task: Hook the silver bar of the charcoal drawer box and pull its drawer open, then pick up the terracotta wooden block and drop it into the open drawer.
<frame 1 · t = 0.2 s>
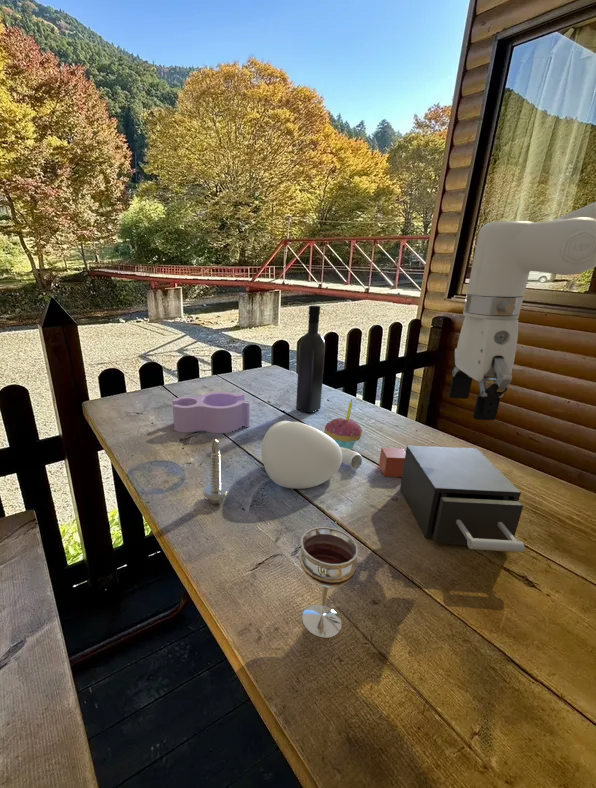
hand: (470, 407, 70), 19 cm above the table, tool pointing down, fingers open, 9 cm apart
screw: (216, 501, 78), on the table
wine bottle: (308, 410, 120), on the table
block: (392, 471, 87), on the table
cupcake: (341, 448, 97), on the table
cabinet: (447, 513, 74), on the table
drawer: (467, 509, 67), point 5 cm above the table, slide at 1.0 cm
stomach: (297, 467, 89), on the table
wineglass: (321, 621, 53), on the table
clip: (211, 424, 111), on the table
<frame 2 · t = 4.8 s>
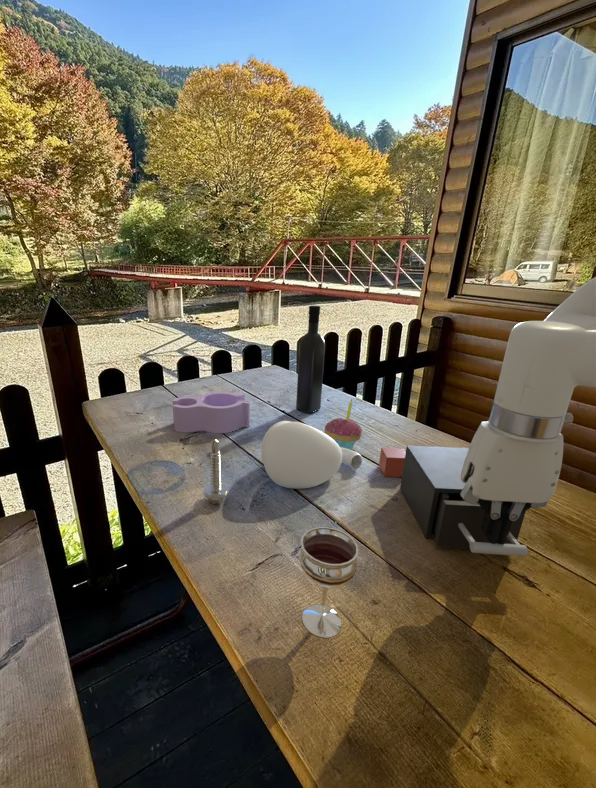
hand: (492, 537, 59), 6 cm above the table, tool pointing down, fingers closed
drawer: (469, 512, 66), point 5 cm above the table, slide at 1.8 cm, touching gripper
everything else where it was.
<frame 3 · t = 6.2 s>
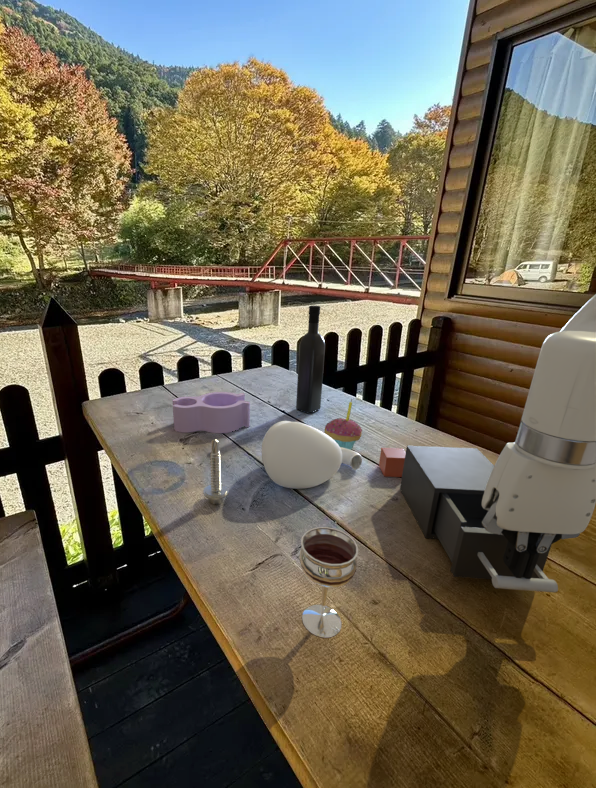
hand: (516, 570, 53), 6 cm above the table, tool pointing down, fingers closed
drawer: (488, 539, 60), point 5 cm above the table, slide at 8.1 cm, touching gripper
everything else where it was.
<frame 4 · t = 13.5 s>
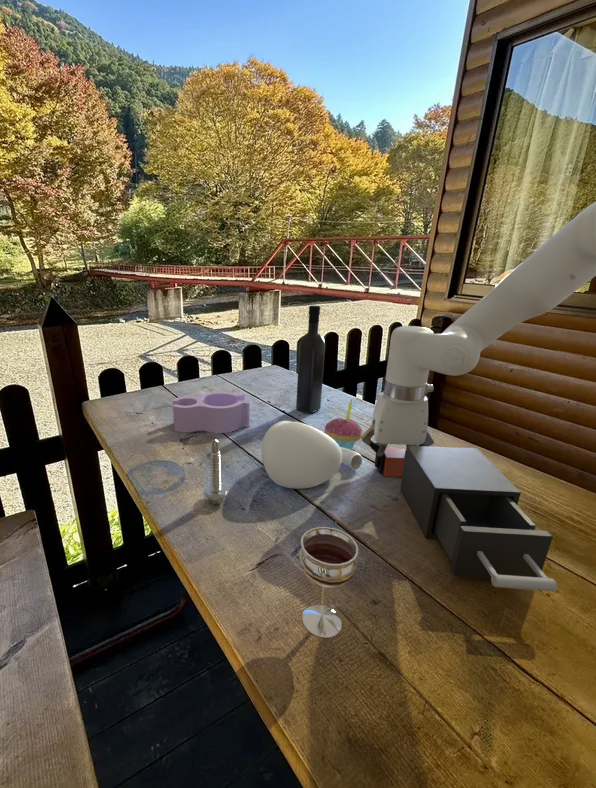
hand: (392, 470, 87), 0 cm above the table, tool pointing down, fingers closed on block, 4 cm apart
block: (392, 471, 87), on the table, touching gripper
drawer: (487, 538, 60), point 5 cm above the table, slide at 8.0 cm
everything else where it was.
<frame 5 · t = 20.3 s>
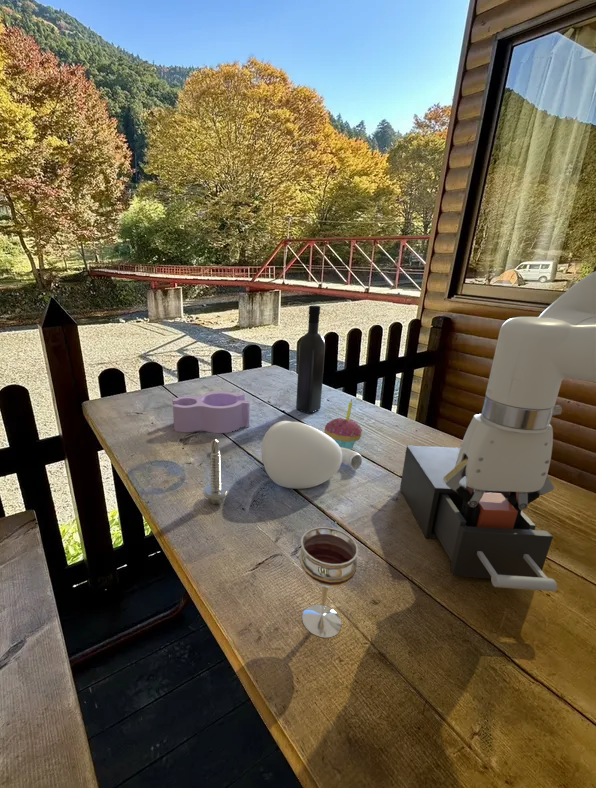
hand: (486, 524, 61), 6 cm above the table, tool pointing down, fingers closed on block, 4 cm apart
block: (486, 526, 61), point 6 cm above the table, touching gripper
drawer: (487, 538, 60), point 5 cm above the table, slide at 8.0 cm, touching gripper
everything else where it was.
when the fingers open (9 cm above the table, at t = 32.7 s): block drops 7 cm, resting on drawer.
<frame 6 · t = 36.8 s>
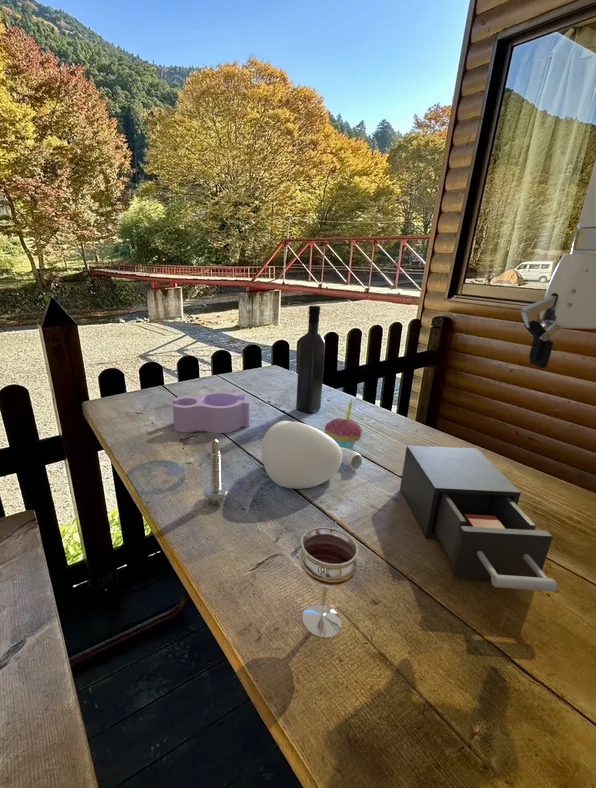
hand: (572, 366, 61), 28 cm above the table, tool pointing down, fingers open, 9 cm apart
block: (480, 548, 62), point 2 cm above the table, touching drawer
drawer: (488, 538, 60), point 5 cm above the table, slide at 8.0 cm, touching block
everything else where it was.
at the end: drawer slide at 8.0 cm; block inside the target area in the drawer (3.0 cm from its centre), point 2.0 cm above the cabinet's base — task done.
